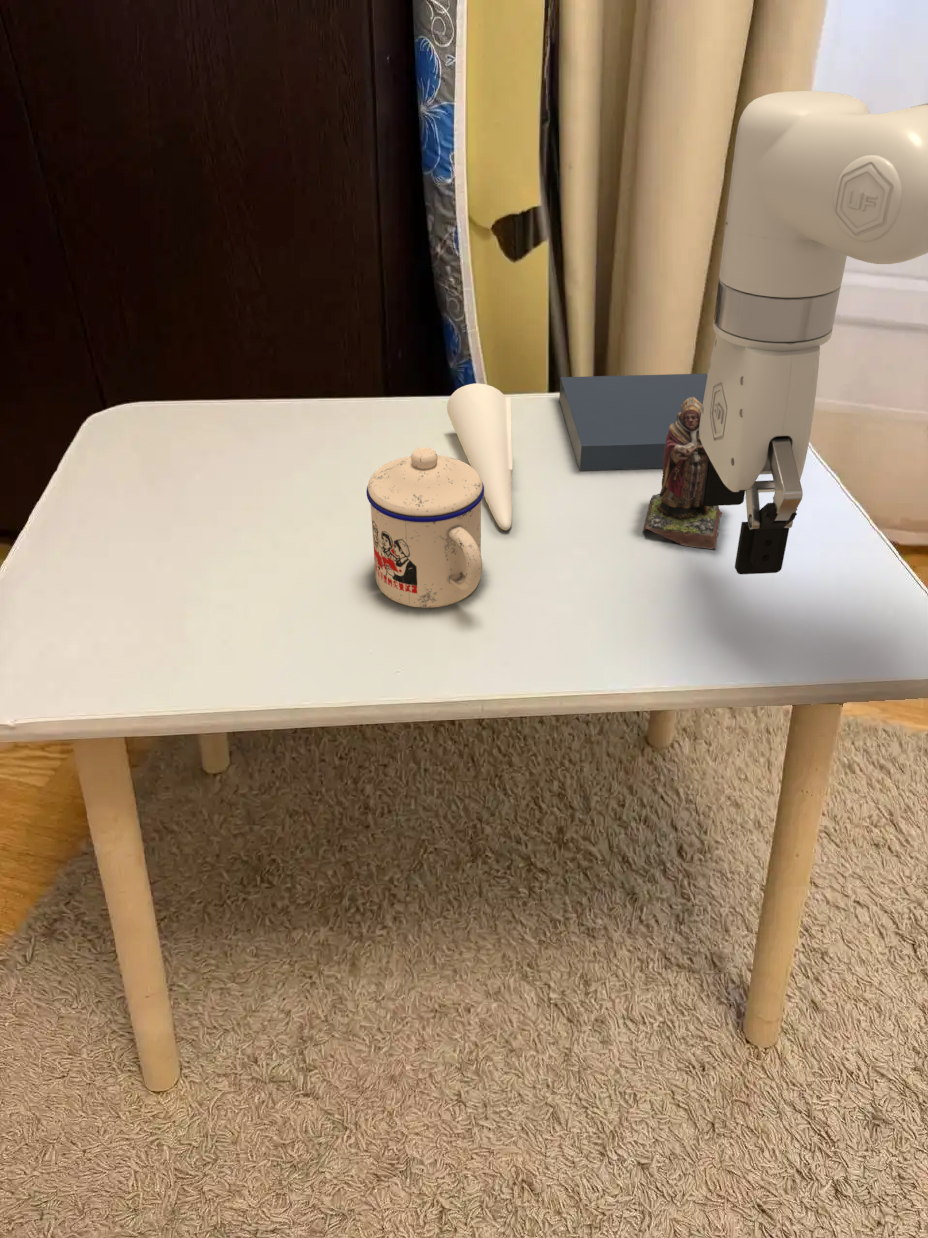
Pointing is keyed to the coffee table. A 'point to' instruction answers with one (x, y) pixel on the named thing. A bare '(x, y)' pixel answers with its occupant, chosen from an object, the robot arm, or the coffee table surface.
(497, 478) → the long cone
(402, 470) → the teacup with lid
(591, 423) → the button box
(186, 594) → the coffee table surface
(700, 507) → the figurine
